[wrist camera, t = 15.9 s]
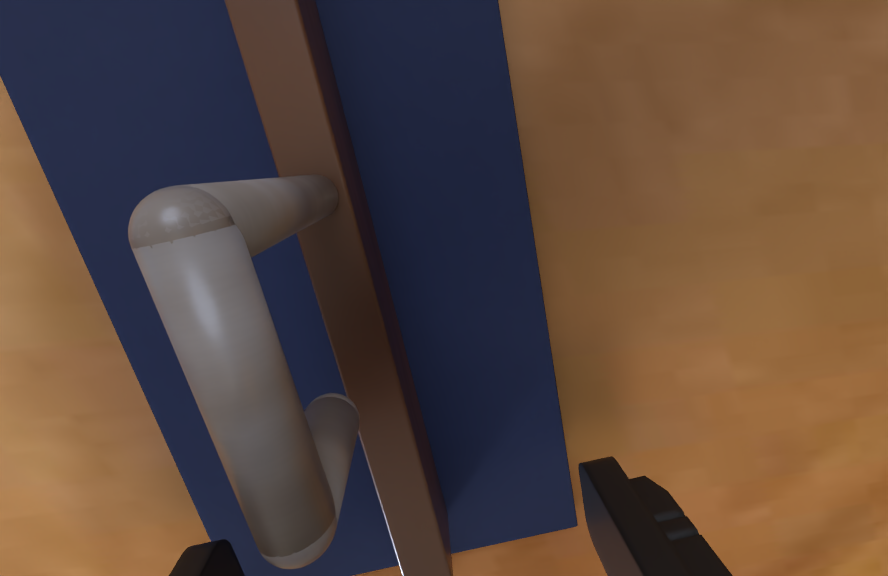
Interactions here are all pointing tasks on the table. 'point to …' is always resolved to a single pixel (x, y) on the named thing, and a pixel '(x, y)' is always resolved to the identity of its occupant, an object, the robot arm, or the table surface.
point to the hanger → (251, 326)
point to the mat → (283, 265)
